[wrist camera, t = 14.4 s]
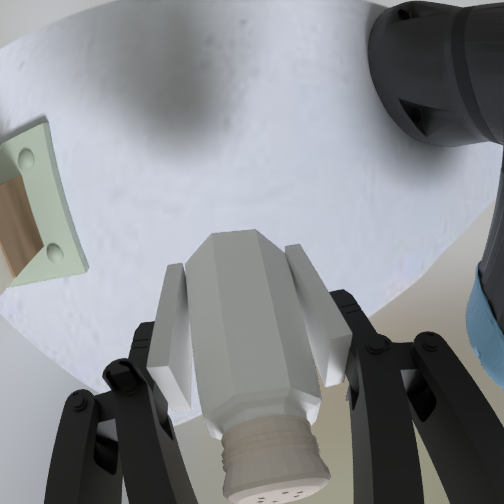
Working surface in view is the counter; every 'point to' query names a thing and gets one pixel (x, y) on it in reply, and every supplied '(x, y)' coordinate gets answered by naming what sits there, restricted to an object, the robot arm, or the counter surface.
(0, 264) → the brick
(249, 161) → the counter surface
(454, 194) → the counter surface
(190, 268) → the pepper shaker
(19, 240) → the brick
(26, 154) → the base plate
